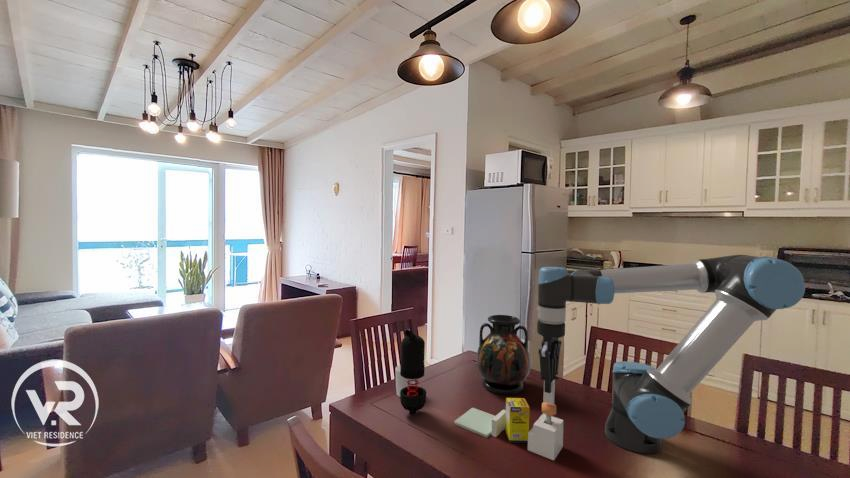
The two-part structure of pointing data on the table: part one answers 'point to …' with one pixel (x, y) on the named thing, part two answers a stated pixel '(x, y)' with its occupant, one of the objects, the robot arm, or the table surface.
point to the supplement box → (517, 420)
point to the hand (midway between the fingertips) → (548, 402)
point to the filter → (412, 372)
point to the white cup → (401, 381)
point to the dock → (537, 434)
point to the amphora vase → (503, 355)
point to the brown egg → (548, 411)
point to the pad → (476, 422)
